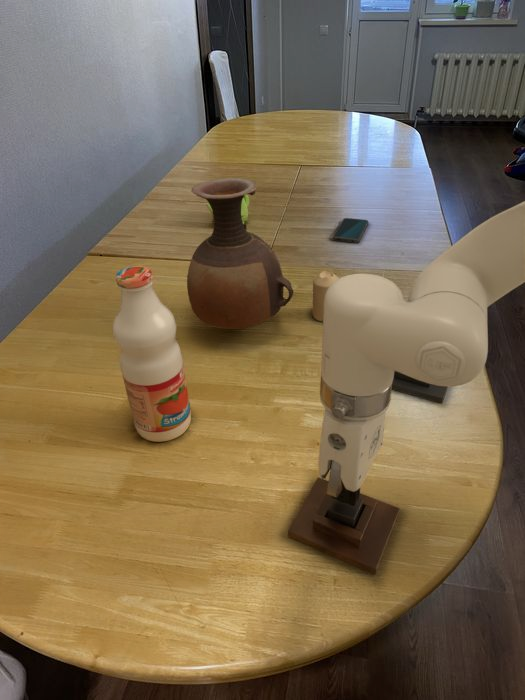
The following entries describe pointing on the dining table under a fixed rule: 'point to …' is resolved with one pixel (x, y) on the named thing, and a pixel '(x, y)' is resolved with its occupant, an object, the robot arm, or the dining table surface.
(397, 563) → the dining table surface
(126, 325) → the fruit juice
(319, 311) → the candle
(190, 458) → the dining table surface
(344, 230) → the smartphone
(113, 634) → the dining table surface
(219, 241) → the vase
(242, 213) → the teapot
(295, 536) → the brown flat stepped block
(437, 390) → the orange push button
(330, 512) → the rocker switch
